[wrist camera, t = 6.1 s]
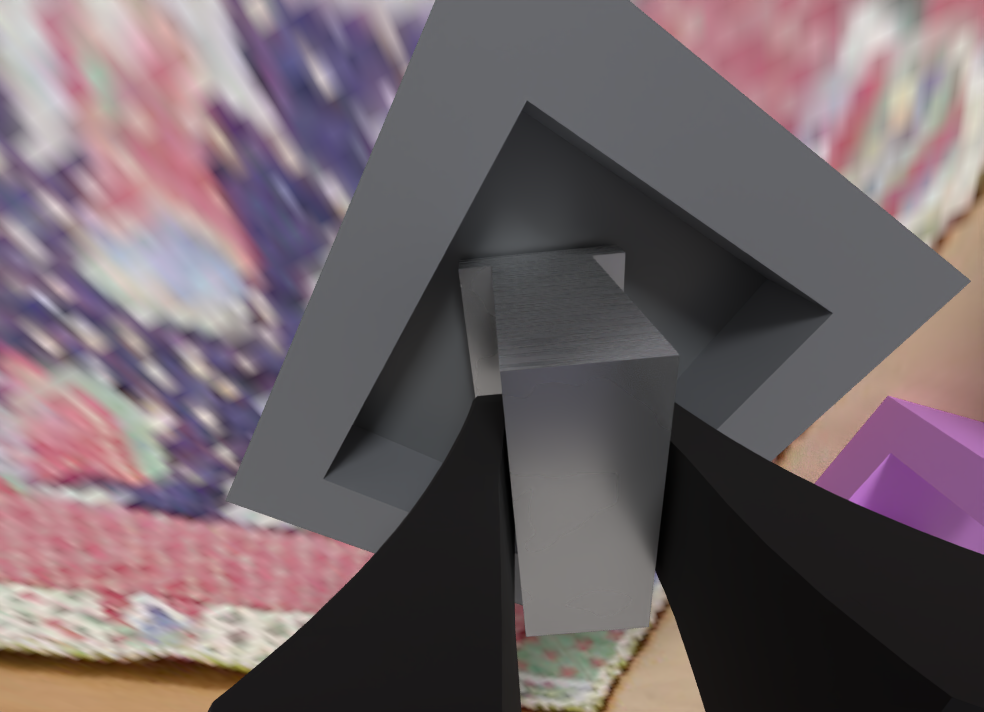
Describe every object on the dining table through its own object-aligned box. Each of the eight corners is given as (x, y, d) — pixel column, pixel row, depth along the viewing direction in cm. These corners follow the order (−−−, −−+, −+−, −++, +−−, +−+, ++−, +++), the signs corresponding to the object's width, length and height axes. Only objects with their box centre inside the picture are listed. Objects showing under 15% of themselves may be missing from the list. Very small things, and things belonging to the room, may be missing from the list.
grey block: (615, 244, 11) (741, 349, 6) (609, 434, 14) (689, 623, 9) (459, 260, 11) (440, 377, 6) (483, 445, 14) (485, 639, 9)
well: (862, 247, 12) (971, 281, 9) (569, 551, 17) (585, 627, 15) (484, -46, 9) (485, -118, 6) (272, 432, 14) (225, 500, 12)
